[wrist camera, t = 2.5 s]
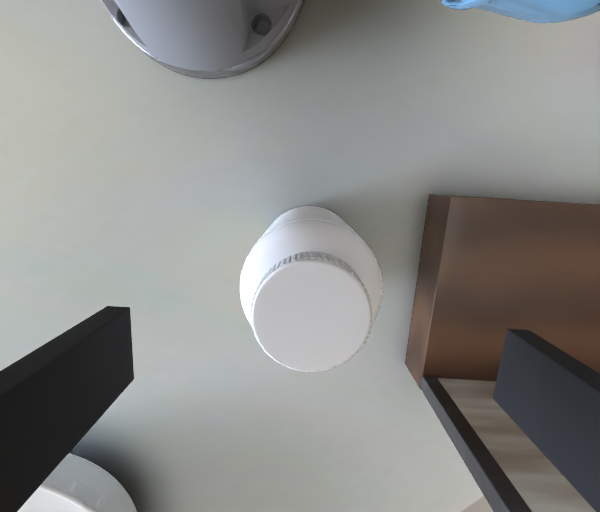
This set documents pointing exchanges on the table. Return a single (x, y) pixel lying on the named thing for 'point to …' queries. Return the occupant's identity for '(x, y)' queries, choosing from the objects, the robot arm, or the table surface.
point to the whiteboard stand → (502, 328)
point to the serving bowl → (79, 490)
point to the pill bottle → (311, 290)
